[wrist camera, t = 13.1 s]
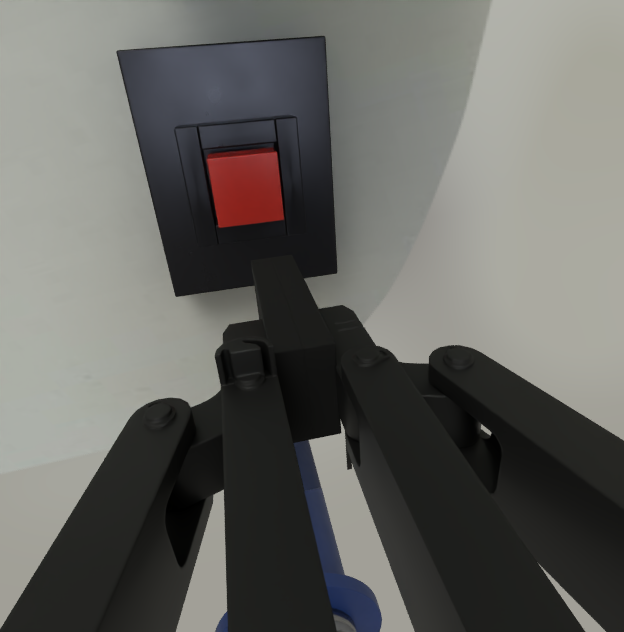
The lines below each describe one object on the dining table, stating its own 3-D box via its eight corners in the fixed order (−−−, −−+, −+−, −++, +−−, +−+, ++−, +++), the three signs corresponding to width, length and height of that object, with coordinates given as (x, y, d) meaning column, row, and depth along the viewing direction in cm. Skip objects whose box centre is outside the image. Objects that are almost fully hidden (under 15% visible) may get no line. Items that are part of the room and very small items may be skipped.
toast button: (279, 211, 26) (284, 220, 25) (218, 218, 26) (218, 228, 24) (272, 146, 25) (277, 151, 23) (207, 153, 24) (206, 158, 22)
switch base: (328, 259, 33) (345, 284, 29) (178, 280, 32) (172, 310, 27) (314, 40, 27) (334, 31, 22) (126, 54, 25) (107, 47, 21)
